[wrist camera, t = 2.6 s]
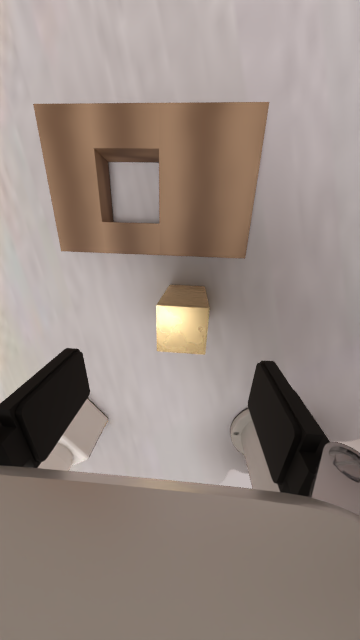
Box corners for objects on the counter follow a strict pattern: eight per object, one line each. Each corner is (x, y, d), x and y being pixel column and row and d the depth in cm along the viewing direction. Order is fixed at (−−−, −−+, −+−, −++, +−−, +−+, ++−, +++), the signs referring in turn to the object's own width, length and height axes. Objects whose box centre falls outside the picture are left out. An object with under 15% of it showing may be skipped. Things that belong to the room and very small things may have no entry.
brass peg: (204, 286, 24) (209, 308, 16) (201, 319, 26) (205, 354, 17) (169, 284, 24) (156, 305, 16) (169, 317, 26) (156, 351, 18)
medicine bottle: (82, 431, 36) (32, 514, 25) (55, 407, 34) (-13, 485, 23) (109, 418, 34) (68, 502, 23) (82, 391, 32) (22, 468, 21)
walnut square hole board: (257, 124, 18) (269, 102, 15) (238, 256, 22) (244, 258, 20) (56, 124, 19) (33, 103, 16) (77, 250, 24) (61, 251, 21)
